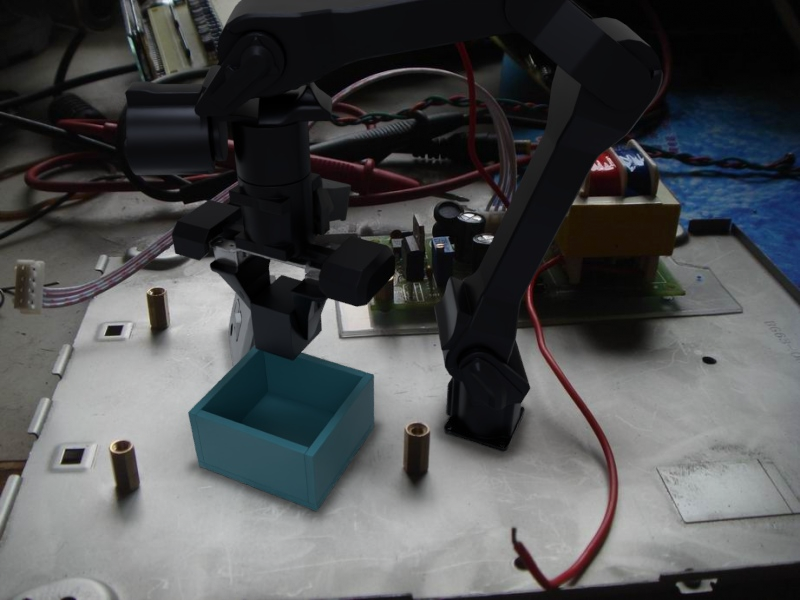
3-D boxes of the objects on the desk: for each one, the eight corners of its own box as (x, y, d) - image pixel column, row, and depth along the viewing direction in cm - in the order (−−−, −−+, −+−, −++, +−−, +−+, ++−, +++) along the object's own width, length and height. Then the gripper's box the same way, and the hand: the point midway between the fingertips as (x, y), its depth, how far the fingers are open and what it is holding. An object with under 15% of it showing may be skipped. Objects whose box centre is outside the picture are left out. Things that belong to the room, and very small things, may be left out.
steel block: (322, 330, 69) (319, 285, 66) (293, 361, 65) (289, 315, 62) (285, 319, 70) (281, 274, 68) (254, 348, 67) (249, 302, 64)
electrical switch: (227, 331, 87) (226, 262, 82) (272, 328, 88) (273, 260, 83) (235, 383, 80) (233, 311, 74) (283, 379, 81) (286, 308, 76)
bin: (374, 426, 74) (374, 374, 70) (316, 511, 66) (312, 456, 62) (266, 390, 78) (260, 339, 75) (198, 466, 70) (187, 412, 66)
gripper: (425, 155, 61) (420, 311, 70) (236, 116, 68) (253, 264, 76) (361, 213, 53) (364, 381, 62) (153, 162, 59) (183, 321, 68)
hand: (288, 331), depth 67 cm, fingers closed on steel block, 4 cm apart
